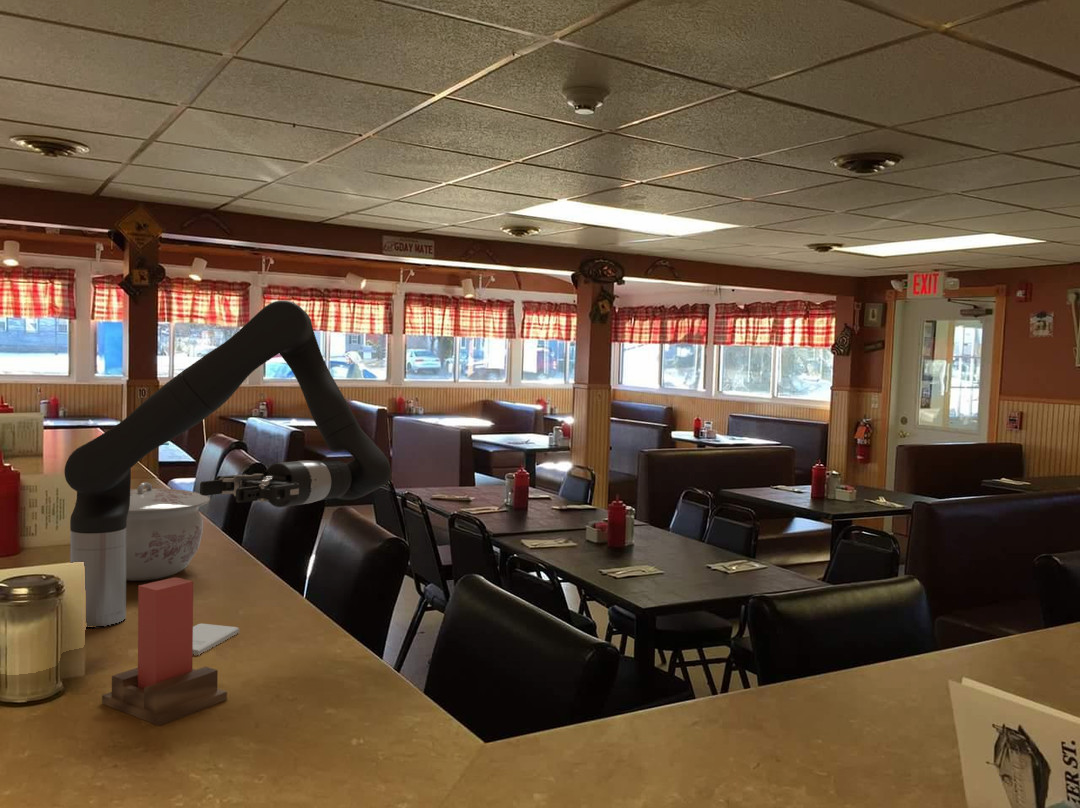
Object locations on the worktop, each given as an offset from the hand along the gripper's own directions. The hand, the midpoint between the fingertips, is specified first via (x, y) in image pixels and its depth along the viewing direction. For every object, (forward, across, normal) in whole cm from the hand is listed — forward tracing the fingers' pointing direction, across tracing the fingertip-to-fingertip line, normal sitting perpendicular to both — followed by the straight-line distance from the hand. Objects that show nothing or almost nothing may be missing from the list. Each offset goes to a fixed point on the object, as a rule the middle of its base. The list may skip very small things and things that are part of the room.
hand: (219, 492), depth 135 cm
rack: (+12, +4, +29) cm, 31 cm away
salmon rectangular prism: (+11, +4, +28) cm, 30 cm away
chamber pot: (-30, -62, +29) cm, 75 cm away
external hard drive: (-8, -14, +30) cm, 34 cm away
